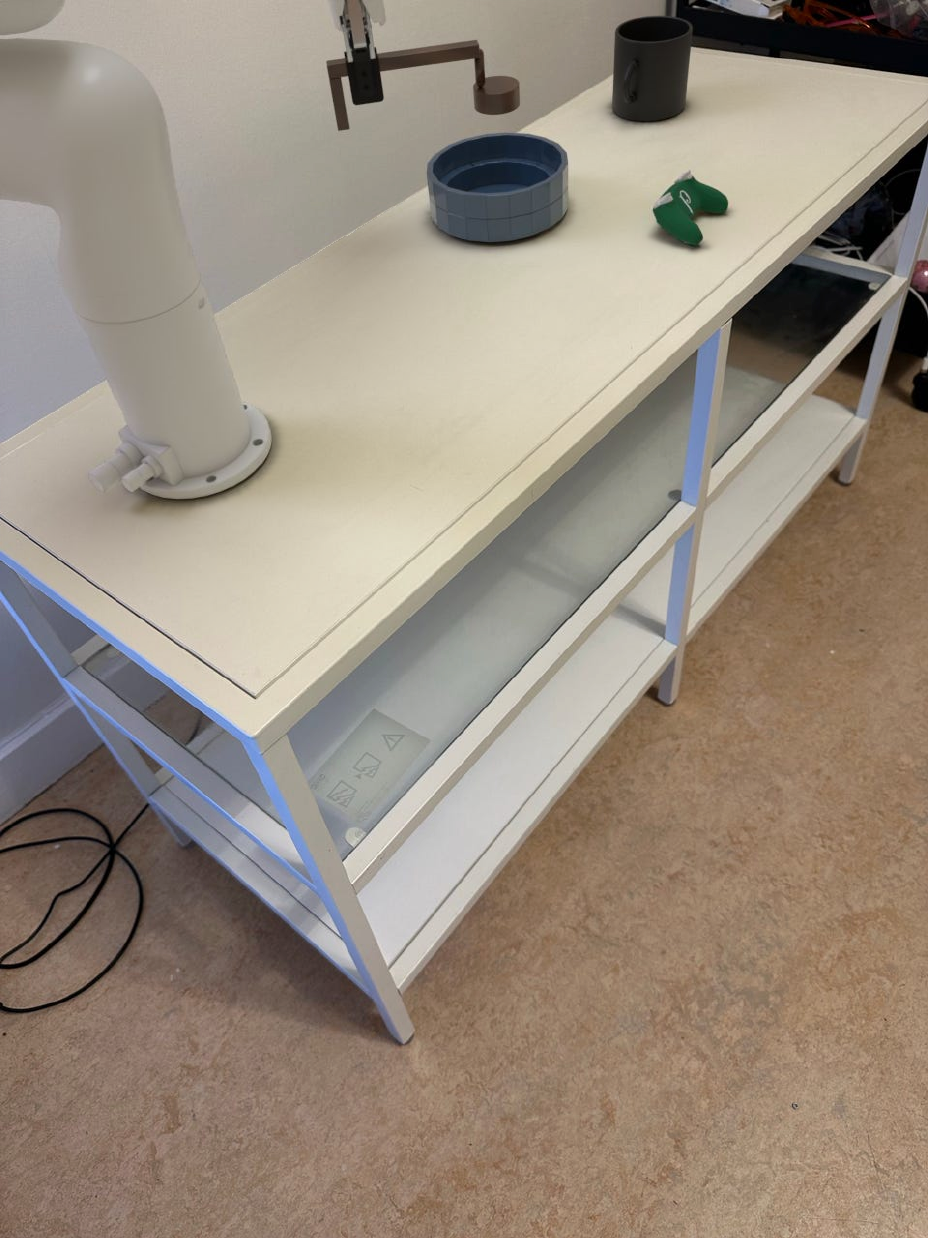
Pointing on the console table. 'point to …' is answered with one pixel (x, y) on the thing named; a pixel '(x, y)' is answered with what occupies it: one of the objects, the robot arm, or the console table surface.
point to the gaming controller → (687, 207)
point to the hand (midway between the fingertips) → (367, 96)
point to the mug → (651, 67)
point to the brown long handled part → (488, 92)
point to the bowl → (498, 186)
